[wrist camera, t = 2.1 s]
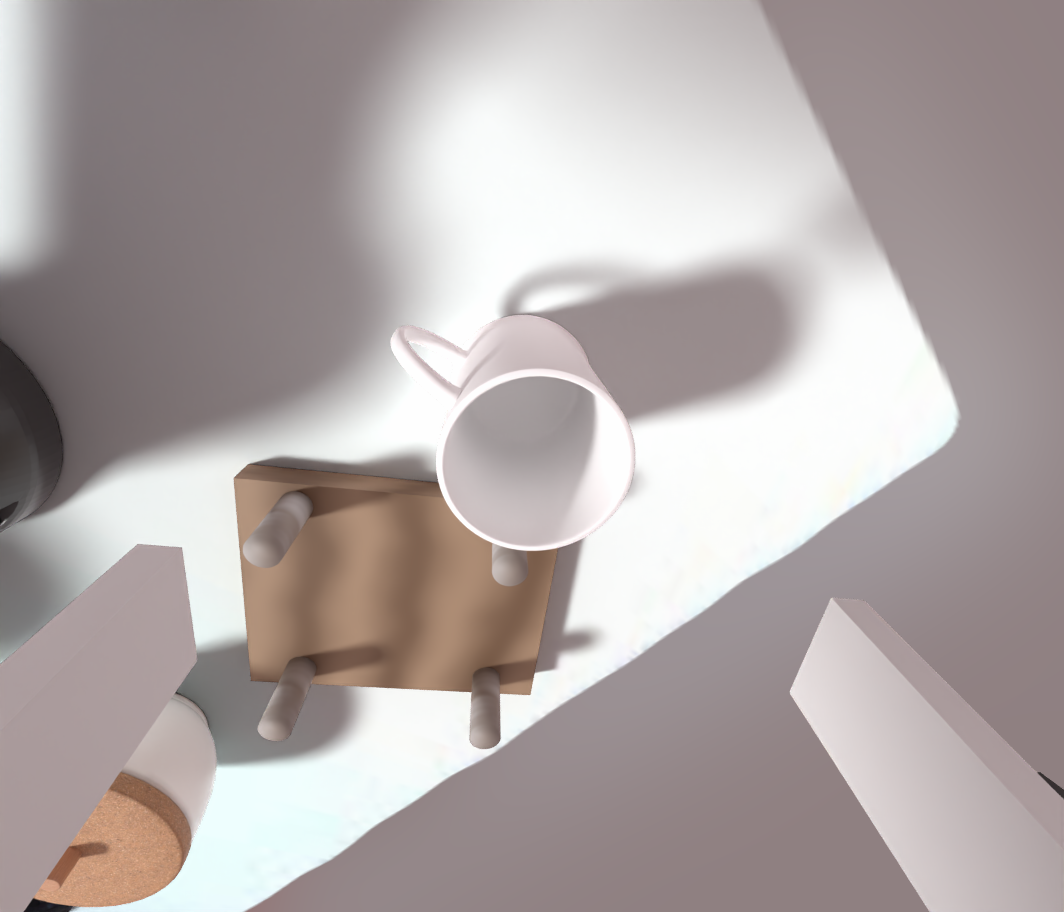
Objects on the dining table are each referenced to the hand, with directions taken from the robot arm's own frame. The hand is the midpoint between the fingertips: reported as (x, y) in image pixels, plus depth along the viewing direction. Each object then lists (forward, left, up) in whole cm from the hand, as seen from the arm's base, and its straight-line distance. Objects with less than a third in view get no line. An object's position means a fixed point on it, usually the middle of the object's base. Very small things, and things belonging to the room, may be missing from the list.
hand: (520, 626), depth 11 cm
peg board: (-5, -16, -22) cm, 28 cm away
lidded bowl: (-23, -31, -23) cm, 45 cm away
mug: (0, 0, -23) cm, 23 cm away
